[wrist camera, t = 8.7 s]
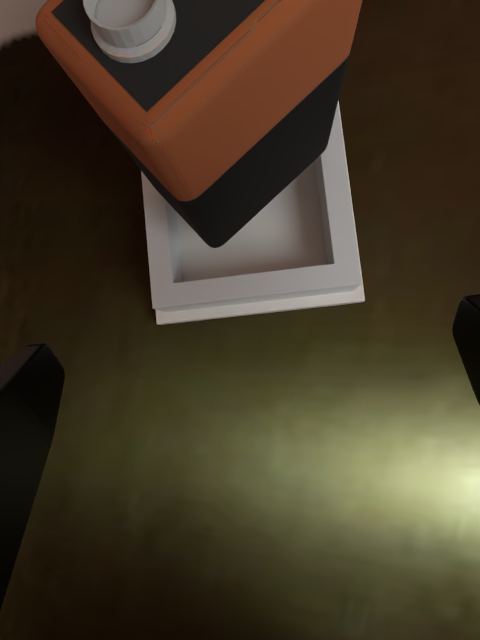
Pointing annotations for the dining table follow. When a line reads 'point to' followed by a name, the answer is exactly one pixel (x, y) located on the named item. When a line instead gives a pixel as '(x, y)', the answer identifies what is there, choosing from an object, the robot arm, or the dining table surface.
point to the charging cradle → (261, 250)
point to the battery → (209, 92)
